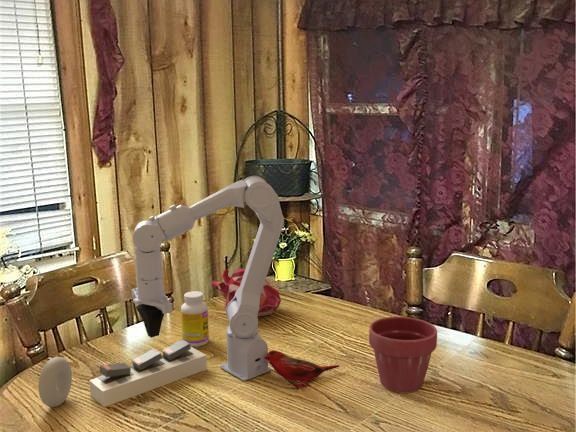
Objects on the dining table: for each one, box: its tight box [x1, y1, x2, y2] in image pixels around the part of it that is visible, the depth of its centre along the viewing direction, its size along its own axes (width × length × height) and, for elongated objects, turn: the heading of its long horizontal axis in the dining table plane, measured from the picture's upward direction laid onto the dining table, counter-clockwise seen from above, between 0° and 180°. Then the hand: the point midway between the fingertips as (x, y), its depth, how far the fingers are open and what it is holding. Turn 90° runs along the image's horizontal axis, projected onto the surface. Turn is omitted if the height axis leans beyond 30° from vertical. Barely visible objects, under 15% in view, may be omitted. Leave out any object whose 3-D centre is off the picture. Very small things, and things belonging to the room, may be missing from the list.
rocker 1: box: [98, 362, 131, 377], centre depth 132 cm, size 3×6×2 cm, turn 131°
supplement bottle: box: [180, 290, 210, 348], centre depth 156 cm, size 7×7×13 cm
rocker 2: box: [131, 348, 162, 370], centre depth 137 cm, size 3×6×2 cm, turn 131°
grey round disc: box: [38, 356, 73, 408], centre depth 127 cm, size 10×4×10 cm, turn 173°
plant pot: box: [368, 316, 438, 394], centre depth 133 cm, size 14×14×13 cm
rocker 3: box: [161, 339, 191, 360], centre depth 141 cm, size 3×6×2 cm, turn 131°
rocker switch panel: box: [88, 347, 208, 408], centre depth 136 cm, size 6×25×4 cm, turn 131°
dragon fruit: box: [211, 268, 282, 317], centre depth 175 cm, size 14×12×20 cm
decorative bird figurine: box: [263, 350, 340, 388], centre depth 137 cm, size 3×18×10 cm
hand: (153, 335), depth 137 cm, fingers closed
